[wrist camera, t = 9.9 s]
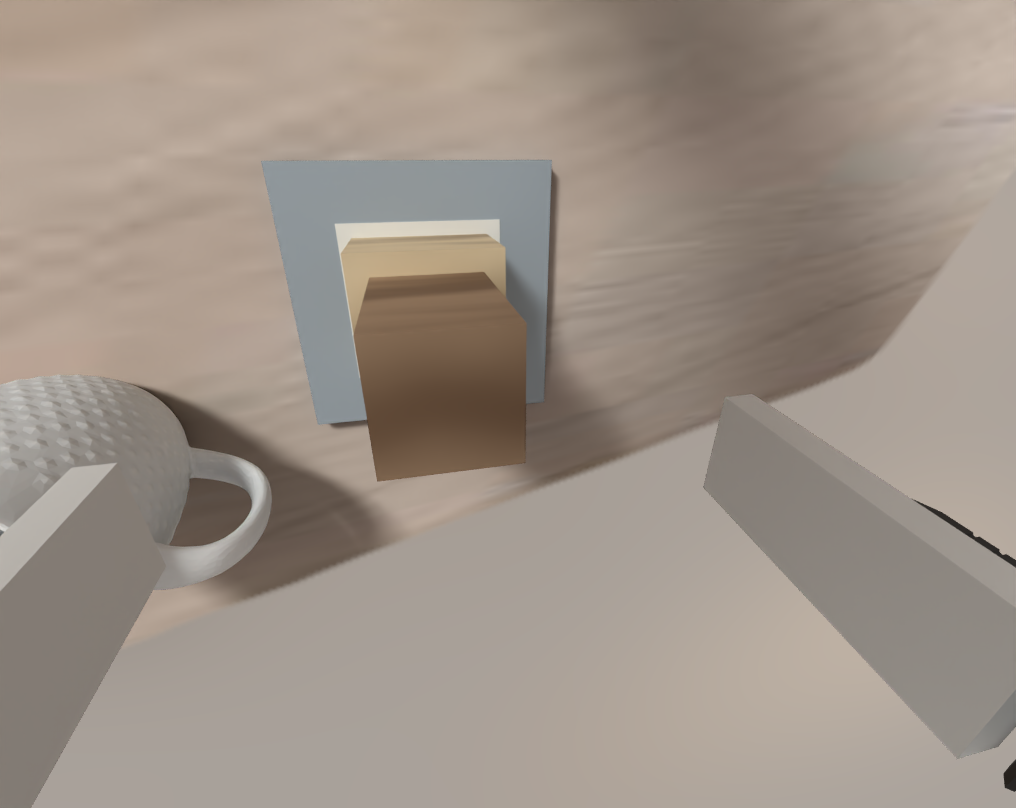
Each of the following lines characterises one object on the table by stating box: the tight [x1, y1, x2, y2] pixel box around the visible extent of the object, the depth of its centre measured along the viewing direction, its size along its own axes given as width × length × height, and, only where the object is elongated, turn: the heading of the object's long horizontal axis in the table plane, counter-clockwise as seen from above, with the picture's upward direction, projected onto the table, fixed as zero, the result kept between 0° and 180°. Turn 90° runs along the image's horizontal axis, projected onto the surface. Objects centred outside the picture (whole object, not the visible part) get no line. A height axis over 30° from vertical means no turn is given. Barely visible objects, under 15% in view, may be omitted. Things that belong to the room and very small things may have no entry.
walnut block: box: [353, 272, 527, 482], centre depth 18 cm, size 5×5×8 cm
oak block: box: [341, 234, 506, 334], centre depth 24 cm, size 7×7×5 cm
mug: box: [0, 375, 272, 590], centre depth 22 cm, size 15×11×13 cm
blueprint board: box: [261, 160, 552, 425], centre depth 26 cm, size 14×14×1 cm
